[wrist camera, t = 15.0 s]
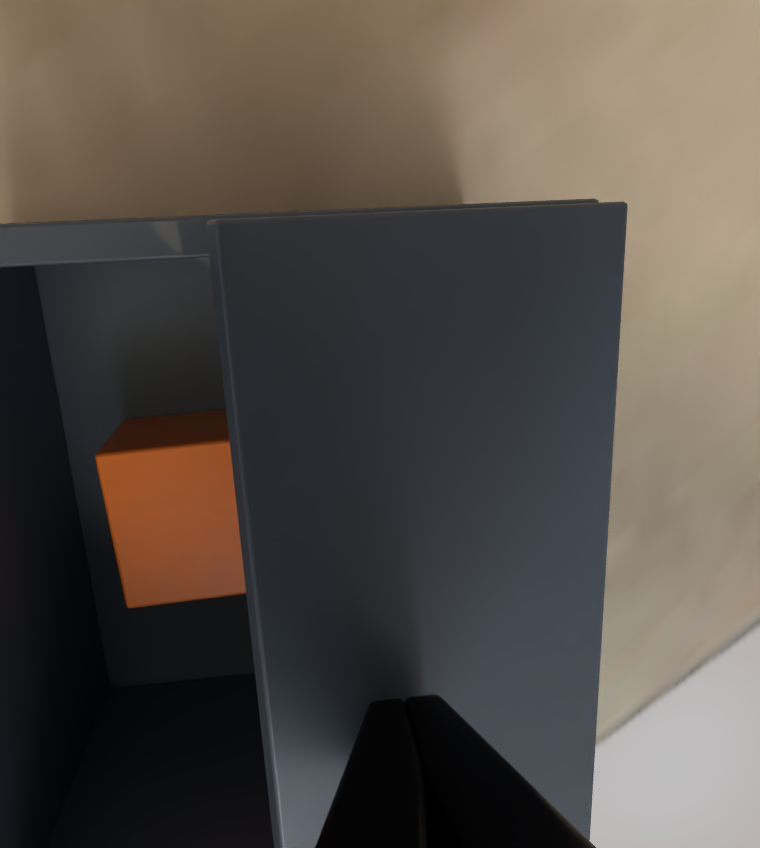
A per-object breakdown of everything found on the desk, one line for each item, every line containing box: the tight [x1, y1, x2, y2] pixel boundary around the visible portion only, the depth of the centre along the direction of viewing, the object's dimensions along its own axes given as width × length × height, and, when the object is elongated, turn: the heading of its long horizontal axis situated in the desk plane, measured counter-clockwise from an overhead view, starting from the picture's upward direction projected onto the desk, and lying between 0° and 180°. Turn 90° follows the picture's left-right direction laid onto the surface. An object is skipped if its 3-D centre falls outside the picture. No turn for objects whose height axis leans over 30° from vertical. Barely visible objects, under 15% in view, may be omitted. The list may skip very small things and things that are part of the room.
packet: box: [95, 409, 246, 608], centre depth 16 cm, size 4×4×2 cm
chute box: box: [0, 199, 599, 848], centre depth 14 cm, size 10×12×8 cm
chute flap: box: [206, 202, 627, 848], centre depth 9 cm, size 5×12×1 cm, turn 3°
